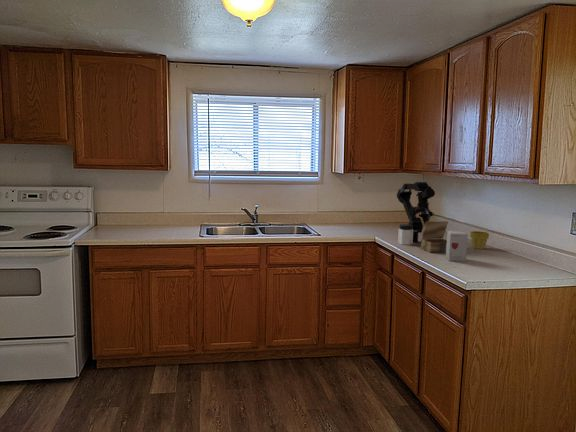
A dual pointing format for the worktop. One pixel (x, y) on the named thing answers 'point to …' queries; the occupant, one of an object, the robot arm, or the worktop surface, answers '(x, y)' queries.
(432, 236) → the lid
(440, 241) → the cardboard box
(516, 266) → the worktop surface
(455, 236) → the supplement box
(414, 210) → the robot arm
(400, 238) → the jar
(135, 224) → the worktop surface
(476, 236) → the plant pot
